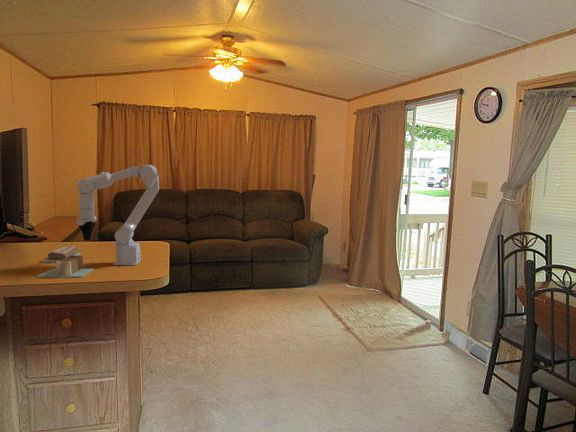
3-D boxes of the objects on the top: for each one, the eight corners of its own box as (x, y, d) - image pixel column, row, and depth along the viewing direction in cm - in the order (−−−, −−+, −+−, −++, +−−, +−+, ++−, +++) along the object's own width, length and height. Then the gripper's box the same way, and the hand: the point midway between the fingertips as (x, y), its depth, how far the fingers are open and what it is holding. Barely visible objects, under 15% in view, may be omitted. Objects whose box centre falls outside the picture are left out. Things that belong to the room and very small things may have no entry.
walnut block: (82, 255, 163) (70, 262, 152) (83, 267, 163) (70, 275, 152) (69, 255, 162) (56, 262, 151) (70, 267, 163) (57, 275, 152)
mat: (93, 269, 162) (93, 268, 162) (81, 277, 151) (81, 276, 151) (52, 269, 161) (51, 268, 161) (37, 277, 150) (37, 276, 150)
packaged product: (58, 244, 189) (81, 244, 190) (59, 254, 189) (81, 254, 191) (41, 253, 171) (66, 252, 172) (41, 264, 172) (66, 263, 173)
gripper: (84, 205, 175) (84, 236, 176) (68, 209, 160) (69, 243, 162) (101, 206, 175) (101, 237, 177) (87, 209, 161) (87, 243, 162)
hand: (87, 240), depth 169 cm, fingers closed
